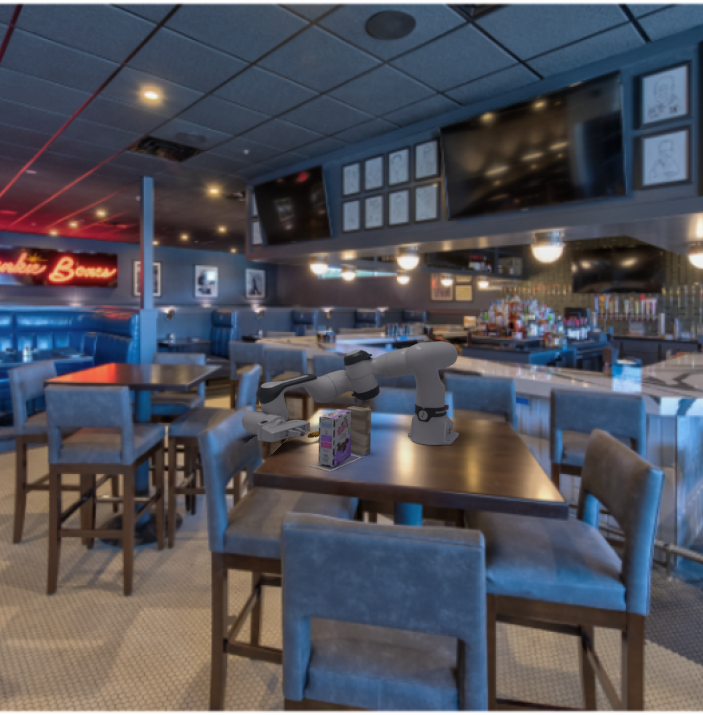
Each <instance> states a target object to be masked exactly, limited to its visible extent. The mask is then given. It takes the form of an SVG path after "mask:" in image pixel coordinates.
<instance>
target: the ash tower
mask: <svg viewBox="0 0 703 715" xmlns="http://www.w3.org/2000/svg"><path fill="white" fill-rule="evenodd" d="M346 410H349V411H351V454H354V455H358V456H359V455H360V456H362V457H363V456H364V457H365V456H367V455H369V454H371V442H372V441H371V439H372V427H371V426H372V409H371V408H366V407H361V406H360V407H359V406H356V405H353V406H349V407H346Z"/></svg>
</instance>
